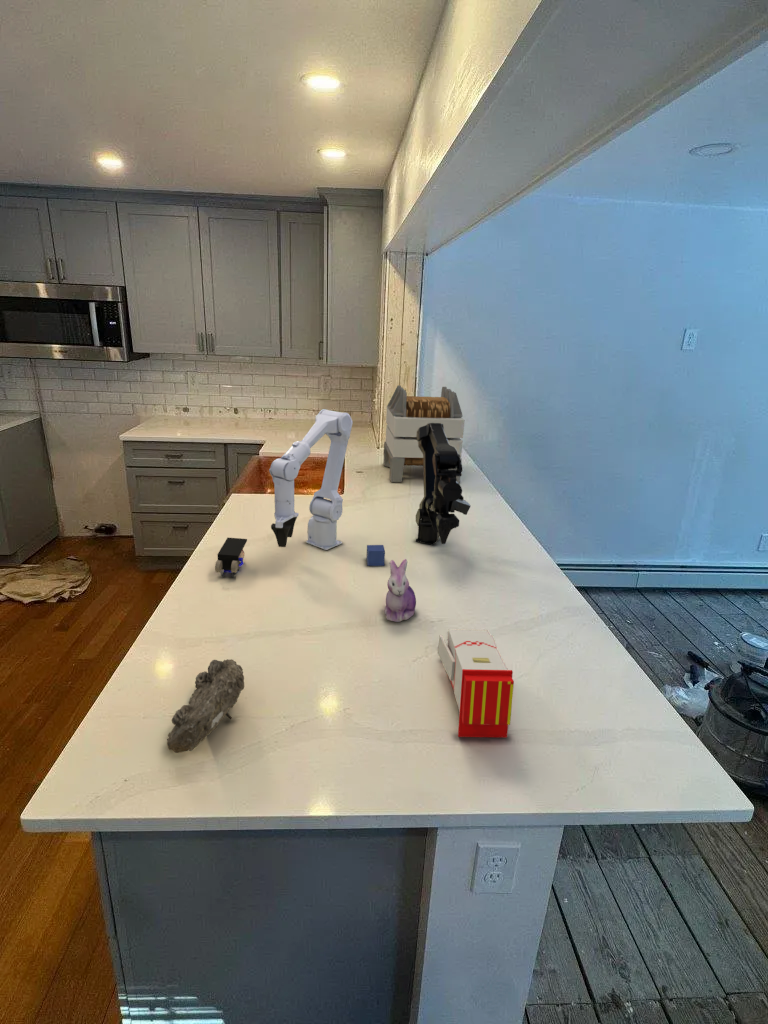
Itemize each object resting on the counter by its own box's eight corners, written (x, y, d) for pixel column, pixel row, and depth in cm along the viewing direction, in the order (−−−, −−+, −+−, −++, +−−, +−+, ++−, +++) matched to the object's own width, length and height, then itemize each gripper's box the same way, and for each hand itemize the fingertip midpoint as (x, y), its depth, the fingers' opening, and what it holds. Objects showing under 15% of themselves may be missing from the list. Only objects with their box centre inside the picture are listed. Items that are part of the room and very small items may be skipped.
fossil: (192, 660, 117) (244, 628, 112) (224, 691, 120) (276, 661, 115) (142, 746, 98) (202, 712, 93) (182, 779, 101) (242, 748, 96)
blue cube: (384, 565, 175) (385, 550, 173) (367, 565, 174) (368, 551, 172) (382, 559, 179) (383, 544, 177) (366, 559, 178) (366, 544, 177)
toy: (488, 613, 130) (523, 677, 101) (484, 667, 133) (517, 744, 104) (435, 612, 130) (455, 676, 101) (432, 666, 133) (451, 743, 103)
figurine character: (238, 584, 162) (249, 557, 175) (236, 562, 158) (247, 536, 172) (215, 584, 161) (227, 556, 175) (212, 561, 158) (225, 535, 171)
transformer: (382, 463, 289) (386, 382, 275) (445, 464, 293) (451, 384, 279) (390, 482, 257) (394, 392, 243) (460, 483, 261) (468, 394, 247)
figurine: (392, 627, 141) (395, 572, 136) (374, 608, 149) (376, 556, 144) (425, 619, 145) (429, 566, 140) (405, 601, 154) (408, 550, 149)
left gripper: (292, 508, 160) (292, 552, 164) (303, 492, 173) (303, 533, 178) (267, 506, 160) (268, 550, 165) (280, 491, 174) (281, 532, 178)
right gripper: (478, 500, 165) (473, 549, 170) (460, 481, 182) (456, 526, 187) (441, 500, 163) (437, 550, 168) (426, 481, 180) (423, 527, 186)
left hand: (285, 541), depth 171 cm, fingers open, 7 cm apart
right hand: (439, 537), depth 177 cm, fingers open, 9 cm apart
